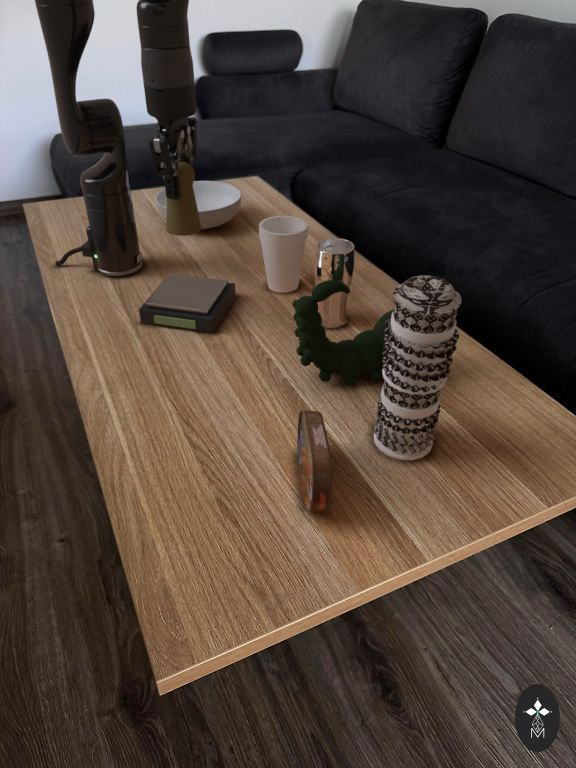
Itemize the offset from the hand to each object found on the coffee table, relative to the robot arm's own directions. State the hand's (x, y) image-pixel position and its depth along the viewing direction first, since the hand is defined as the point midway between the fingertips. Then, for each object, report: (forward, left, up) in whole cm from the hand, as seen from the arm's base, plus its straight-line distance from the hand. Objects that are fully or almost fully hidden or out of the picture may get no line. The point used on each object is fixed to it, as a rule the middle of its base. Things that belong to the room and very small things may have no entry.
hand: (180, 191), depth 98 cm
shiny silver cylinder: (+26, +4, -24) cm, 35 cm away
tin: (+31, -37, -24) cm, 53 cm away
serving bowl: (-14, +42, -24) cm, 51 cm away
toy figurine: (+35, -11, -24) cm, 44 cm away
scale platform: (-1, +1, -20) cm, 20 cm away
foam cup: (+14, +15, -24) cm, 31 cm away
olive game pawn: (0, 0, -7) cm, 7 cm away
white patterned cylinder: (+42, -26, -24) cm, 55 cm away
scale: (-1, +1, -24) cm, 24 cm away
